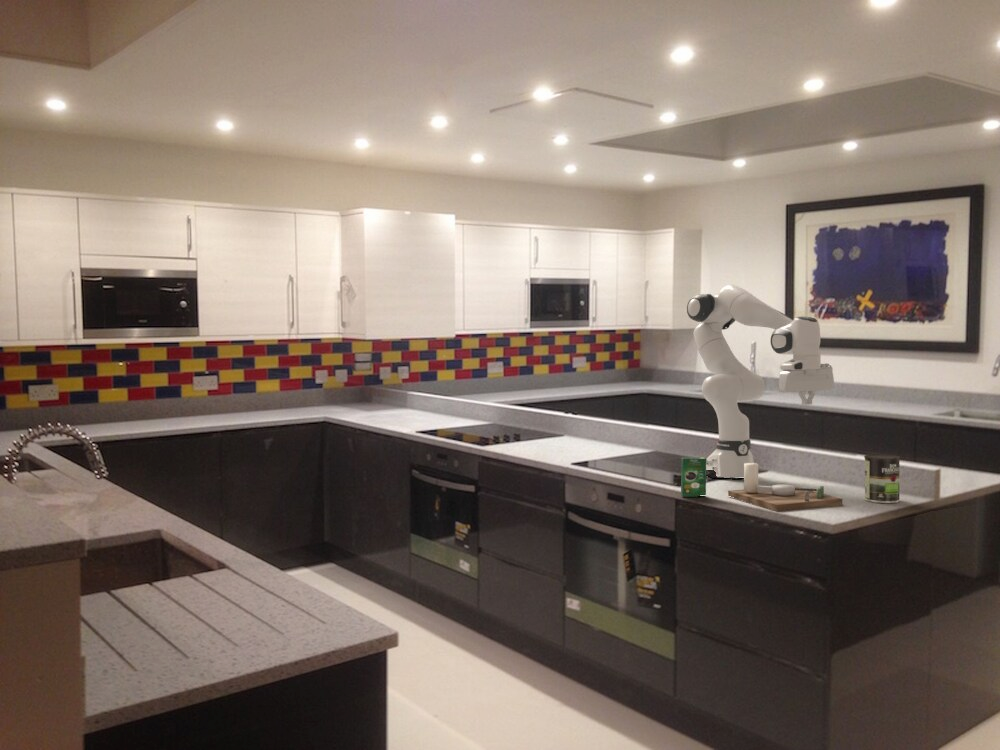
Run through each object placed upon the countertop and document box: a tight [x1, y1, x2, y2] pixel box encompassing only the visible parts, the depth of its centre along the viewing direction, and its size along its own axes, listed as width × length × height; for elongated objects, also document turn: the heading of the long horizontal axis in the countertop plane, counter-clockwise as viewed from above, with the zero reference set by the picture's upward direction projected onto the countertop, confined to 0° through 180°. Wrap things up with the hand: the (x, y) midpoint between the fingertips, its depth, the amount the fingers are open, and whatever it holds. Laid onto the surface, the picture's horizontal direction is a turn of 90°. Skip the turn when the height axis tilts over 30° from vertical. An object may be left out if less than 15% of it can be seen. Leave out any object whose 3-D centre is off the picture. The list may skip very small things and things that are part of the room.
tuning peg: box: [743, 462, 818, 496], centre depth 274 cm, size 22×7×9 cm, turn 66°
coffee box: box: [680, 457, 707, 498], centre depth 284 cm, size 8×3×13 cm, turn 88°
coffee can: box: [864, 453, 901, 504], centre depth 271 cm, size 10×10×14 cm
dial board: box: [727, 485, 843, 512], centre depth 274 cm, size 26×24×5 cm
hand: (807, 404), depth 292 cm, fingers closed
